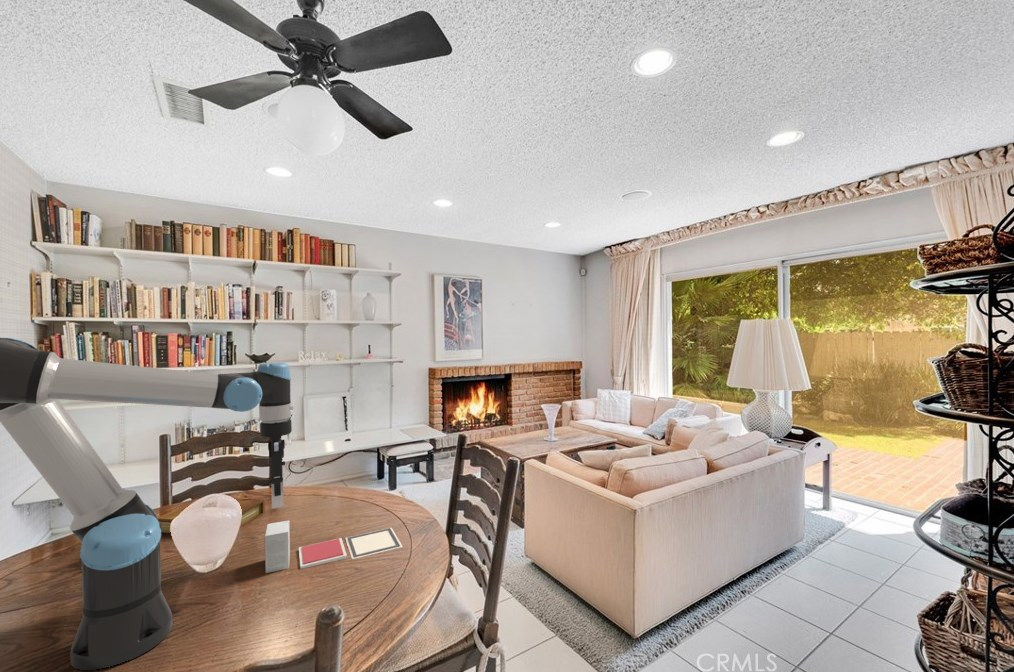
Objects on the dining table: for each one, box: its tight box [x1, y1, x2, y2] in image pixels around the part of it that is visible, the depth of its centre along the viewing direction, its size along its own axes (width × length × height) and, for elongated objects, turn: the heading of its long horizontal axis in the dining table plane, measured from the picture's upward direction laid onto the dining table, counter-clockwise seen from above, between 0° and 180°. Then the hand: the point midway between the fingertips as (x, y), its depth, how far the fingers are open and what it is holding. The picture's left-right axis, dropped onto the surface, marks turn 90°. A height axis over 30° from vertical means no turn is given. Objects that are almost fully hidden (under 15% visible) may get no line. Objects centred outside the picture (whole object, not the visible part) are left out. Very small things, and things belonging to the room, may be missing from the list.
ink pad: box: [298, 537, 348, 570], centre depth 121 cm, size 12×12×2 cm
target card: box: [344, 527, 404, 560], centre depth 128 cm, size 14×14×1 cm
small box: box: [264, 520, 291, 574], centre depth 116 cm, size 8×6×10 cm
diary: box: [157, 497, 266, 534], centre depth 142 cm, size 23×19×6 cm
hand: (277, 498), depth 116 cm, fingers open, 13 cm apart
